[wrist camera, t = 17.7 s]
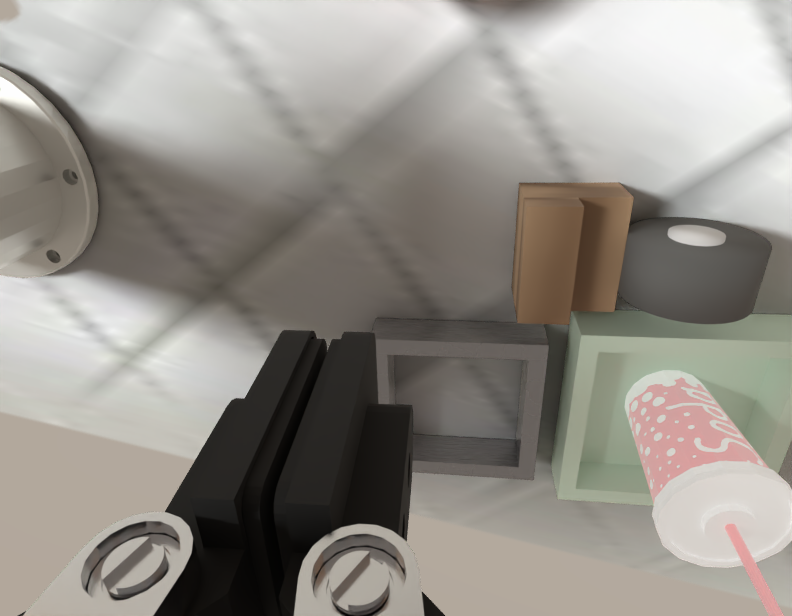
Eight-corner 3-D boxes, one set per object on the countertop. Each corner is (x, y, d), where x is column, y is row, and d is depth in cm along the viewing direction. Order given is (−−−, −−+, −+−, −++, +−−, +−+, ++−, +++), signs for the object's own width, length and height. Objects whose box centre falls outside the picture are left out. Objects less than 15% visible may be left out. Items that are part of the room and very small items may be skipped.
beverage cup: (744, 390, 31) (924, 628, 19) (669, 455, 34) (782, 699, 22) (660, 341, 30) (790, 555, 18) (590, 411, 33) (661, 639, 21)
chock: (511, 285, 31) (517, 323, 27) (518, 181, 28) (526, 206, 24) (601, 287, 30) (621, 326, 26) (617, 181, 27) (643, 206, 23)
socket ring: (383, 443, 37) (377, 469, 35) (376, 318, 32) (369, 339, 30) (529, 452, 36) (533, 480, 34) (543, 323, 31) (549, 345, 29)
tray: (550, 465, 36) (557, 499, 33) (571, 308, 31) (581, 335, 28) (739, 476, 35) (762, 513, 32) (797, 314, 29) (830, 343, 26)
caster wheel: (604, 272, 29) (634, 326, 24) (614, 213, 28) (647, 256, 23) (720, 274, 29) (777, 330, 23) (737, 213, 27) (801, 258, 22)
